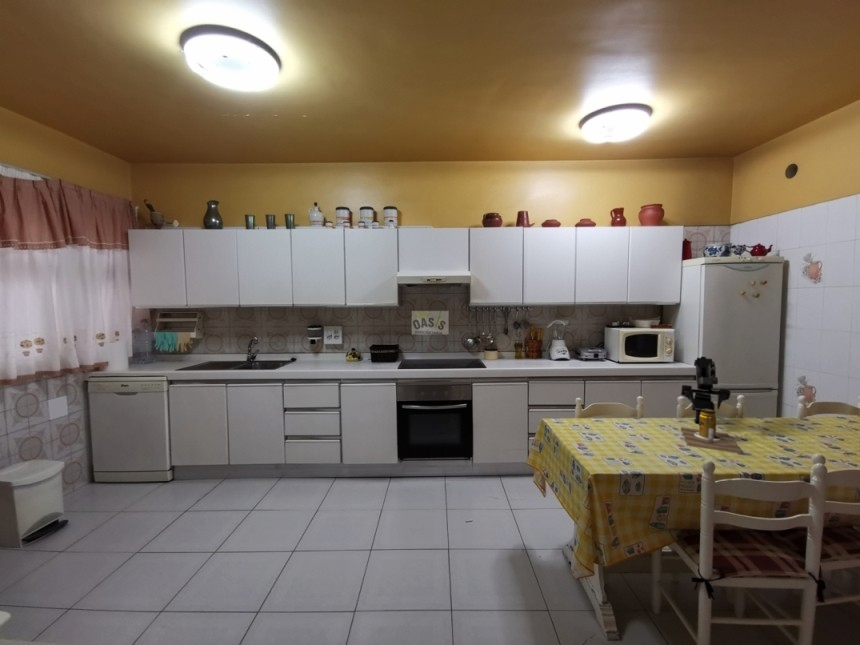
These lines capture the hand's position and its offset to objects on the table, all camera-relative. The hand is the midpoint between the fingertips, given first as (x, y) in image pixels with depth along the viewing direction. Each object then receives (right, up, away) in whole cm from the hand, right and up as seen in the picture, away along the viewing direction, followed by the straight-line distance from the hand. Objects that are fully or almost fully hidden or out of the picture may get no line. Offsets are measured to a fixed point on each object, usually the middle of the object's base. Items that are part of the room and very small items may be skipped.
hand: (706, 407), depth 173 cm
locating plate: (-4, -13, -7) cm, 15 cm away
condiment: (-2, -12, -5) cm, 13 cm away
